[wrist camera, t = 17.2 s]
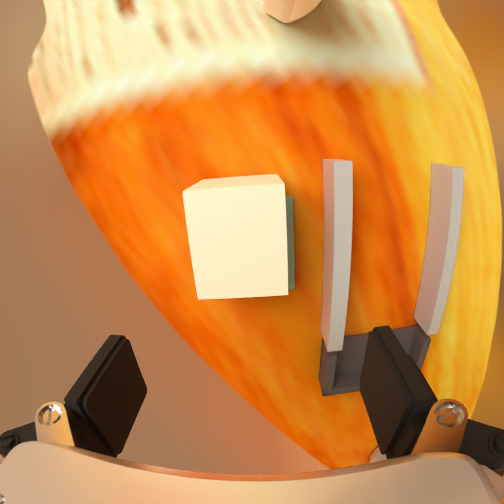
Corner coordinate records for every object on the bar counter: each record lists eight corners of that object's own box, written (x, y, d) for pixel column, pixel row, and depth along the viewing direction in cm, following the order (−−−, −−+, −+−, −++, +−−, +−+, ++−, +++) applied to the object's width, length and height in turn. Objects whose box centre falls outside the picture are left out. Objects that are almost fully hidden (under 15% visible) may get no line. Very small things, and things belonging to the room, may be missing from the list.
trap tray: (408, 362, 25) (417, 378, 23) (318, 378, 26) (322, 396, 23) (419, 324, 24) (431, 339, 21) (322, 338, 24) (327, 357, 22)
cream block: (280, 258, 21) (288, 295, 16) (211, 262, 21) (198, 299, 16) (276, 174, 19) (284, 183, 14) (202, 179, 19) (182, 191, 14)
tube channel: (423, 315, 23) (437, 333, 21) (320, 330, 24) (327, 351, 21) (442, 163, 19) (464, 167, 16) (322, 159, 19) (333, 161, 16)
